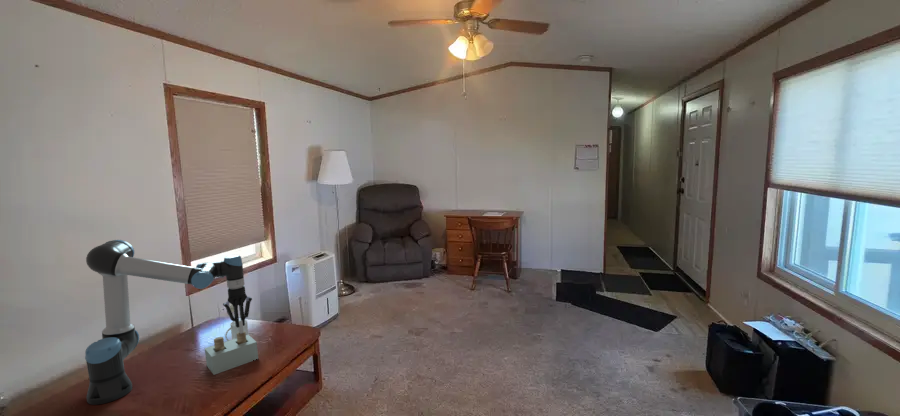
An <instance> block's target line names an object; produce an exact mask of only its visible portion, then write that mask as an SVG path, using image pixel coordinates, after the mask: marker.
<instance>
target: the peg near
mask: <svg viewBox="0 0 900 416" xmlns="http://www.w3.org/2000/svg"><path fill="white" fill-rule="evenodd" d="M224 342H225V340H224V337H223V336H219V337H214V339H213V344H214V345H213V346H215V352H218V351H221V350H224V349H225V348H224Z"/></svg>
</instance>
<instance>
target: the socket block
mask: <svg viewBox="0 0 900 416" xmlns="http://www.w3.org/2000/svg"><path fill="white" fill-rule="evenodd" d="M229 340H230V341H227V340H226V341H224V348H225V349H224V350H221V351H218V352H215V346H214V345H210V346H208V347H205V348H204V352H205V353H204V354H205V363H206V367H207V368H208V369H209V371H210V372H211V373H212V375H217V374H220V373H223V372H226V371H228V370H232V369H234V368H237V367H239V366H240V367H241V366H242V365H246V364H248V363H250V362H251V363H252V362H254V361H257V360H259V352H258V342H257V341H256V340H255V339H254V338H253V337H252V336H250V334H249V335H246V342H245V343H242V344H239V345H238V343H237V338H236V339H233V340H232V339H229ZM256 359H257V360H256ZM253 360H254V361H253Z"/></svg>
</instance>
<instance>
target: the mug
mask: <svg viewBox="0 0 900 416" xmlns="http://www.w3.org/2000/svg"><path fill="white" fill-rule="evenodd" d="M244 321H245V325H244V326H243V331H245V332H246V335H249V336H250V334H249V329H248V328H249V326H248V320H247V319H245V320H244ZM229 325H230V326H229V328H228V329H227V330H226V332H225V334H224V335H225V337H224V338H225V340H226V341H230V340H233V339H236V338H237V333H238V332H239V330H238V328H237V327H236V323H235V321H231V322H230V324H229ZM229 331H230V332H231V339H228V336H227V335H228V333H229Z"/></svg>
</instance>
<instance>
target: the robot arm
mask: <svg viewBox="0 0 900 416" xmlns="http://www.w3.org/2000/svg"><path fill="white" fill-rule="evenodd" d="M134 256H135V248H134V247H133V245H132V244H131V243H129V242H128V241H126V240H122V239H114V240H113V239H112V240H109V241H106V242H105V243H103V244H100V245H97V246H94V247H93V248H92V249H91V250H89V252H88V253H87V254H86V258H85V261H86V265H87V266H88V268H89V269H90V270H92V271H93V272H95V273H97V274H99V275H100V276H102V284H103V286H102V288H103V300H104V315H105V318H104V319H105V328H104V329H102V331H101V334H102V335H101V337H102V338H101V339H98V340H97V341H94V342H92V343H91V344H89V345H88V346H87V347H86V350H85V353H84V355H85V356H84V359H85V362H86V367H87V368H86V369H87V372H88V373H87V374H88V378H89V379H88V380H89V386H88V389H87V392H86V403H87V404H89V405H102V404H103V405H104V404H108V403H110V402H114V401H117V400H118V399H121V398H123V397H125V396H127V395H128V394H129V393H130V392H131V391H132V389H133V382H132V380H131V379H130V377H129V376H128V374H127V373H126V371H125V365H124V364H125V363H124V360H125V359H126V358H127V357H128V356H129V355H130V354H131V353H132V352H133V351H134V350H135V349H136V347H137V346H138V344H139V341H140V334H139V332H138V330H136V328H135V324H133V323H132V322H131V313H130V299H129V298H130V297H129V294H130V293H129V281H128V276H132V277H138V278H139V277H140V278H144V279H145V278H146V279H150V280H151V279H153V280H159V281H165V282H173V283H177V284H178V283H179V284H185V285H191V286H192V287H193V288H196V289H198V290H199V289H200V290H202V289H205V288H207V287H209V286H210V285H211V284H212V283H213V281H214V280H215V279H216V278H223V277H225V279H226V280H225V281H226V287H227V296H228V297H227V301H226V302H224V303H222V306H224V307H225V310H226V312H227V314H228V316H229V318H230V320H231V322H233V321H235V323H236V327H237V328H238V330H239V333H240V334H242V333H244V331H243V326H244V325H245V321H244V320H246V319H247V318H248V317H249V314H250V308H251V307H250V306H251V302H252V301H253V298H252V297H251V296H248V295H247V294H246V286H245V278H244V277H245V276H244V266H243V260H242V259H243V258H242V256H240V254H232V255H227V256H225V257H224V258H223V260H221V261H213V262H212V261H211V262H202V263H198V264H196V267H194V266H189V265H188V266H187V265H182V264H175V263H168V262H164V261H158V260H151V259H145V258H139V257H134ZM244 303H245V306H244ZM230 305H232V308H233V312H232V310H231V307H230ZM244 307H245V308H244ZM239 316H240V317H239Z"/></svg>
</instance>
